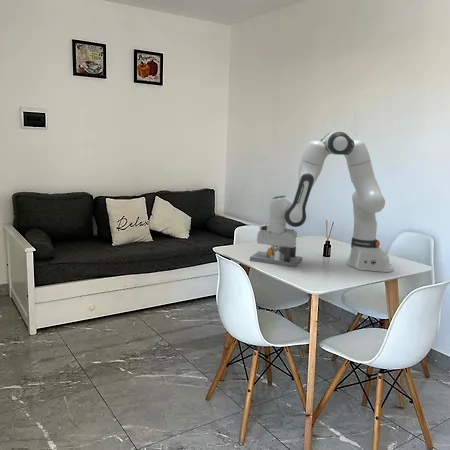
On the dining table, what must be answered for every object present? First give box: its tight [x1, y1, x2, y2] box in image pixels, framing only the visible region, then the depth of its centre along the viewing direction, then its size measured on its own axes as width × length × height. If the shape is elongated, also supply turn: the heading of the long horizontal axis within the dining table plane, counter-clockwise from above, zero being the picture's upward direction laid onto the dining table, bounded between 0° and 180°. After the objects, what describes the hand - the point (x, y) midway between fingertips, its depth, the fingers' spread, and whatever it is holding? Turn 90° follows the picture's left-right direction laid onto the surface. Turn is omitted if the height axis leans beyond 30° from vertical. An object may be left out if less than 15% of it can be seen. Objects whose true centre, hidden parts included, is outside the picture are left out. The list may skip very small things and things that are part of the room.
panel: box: [249, 246, 304, 268], centre depth 236 cm, size 24×14×7 cm, turn 67°
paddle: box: [266, 247, 274, 256], centre depth 237 cm, size 2×4×4 cm, turn 157°
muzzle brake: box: [276, 246, 290, 254], centre depth 254 cm, size 10×28×10 cm, turn 174°
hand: (275, 253), depth 236 cm, fingers closed
